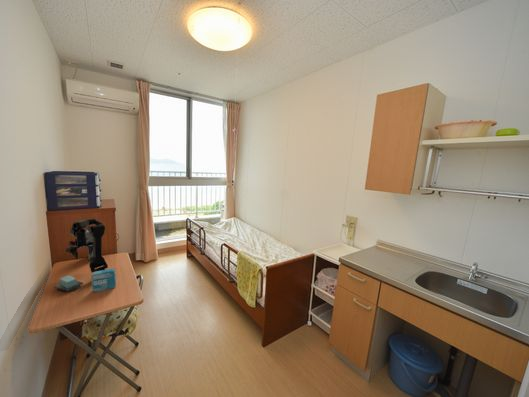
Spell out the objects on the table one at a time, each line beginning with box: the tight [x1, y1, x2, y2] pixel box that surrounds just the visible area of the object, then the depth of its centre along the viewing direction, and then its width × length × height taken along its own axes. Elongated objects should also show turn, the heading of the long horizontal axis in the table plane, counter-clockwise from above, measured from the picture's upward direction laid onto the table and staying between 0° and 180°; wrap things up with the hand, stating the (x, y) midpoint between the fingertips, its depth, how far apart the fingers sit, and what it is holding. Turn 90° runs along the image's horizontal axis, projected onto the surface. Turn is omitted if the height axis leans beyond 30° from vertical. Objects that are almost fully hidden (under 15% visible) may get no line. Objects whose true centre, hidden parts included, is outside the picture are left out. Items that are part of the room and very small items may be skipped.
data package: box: [90, 268, 117, 293], centre depth 141 cm, size 12×4×12 cm, turn 121°
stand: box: [53, 280, 84, 293], centre depth 142 cm, size 13×9×2 cm
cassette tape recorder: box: [86, 229, 93, 261], centre depth 189 cm, size 14×6×25 cm, turn 32°
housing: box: [59, 275, 78, 288], centre depth 142 cm, size 5×10×4 cm, turn 64°
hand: (83, 257), depth 165 cm, fingers open, 9 cm apart
